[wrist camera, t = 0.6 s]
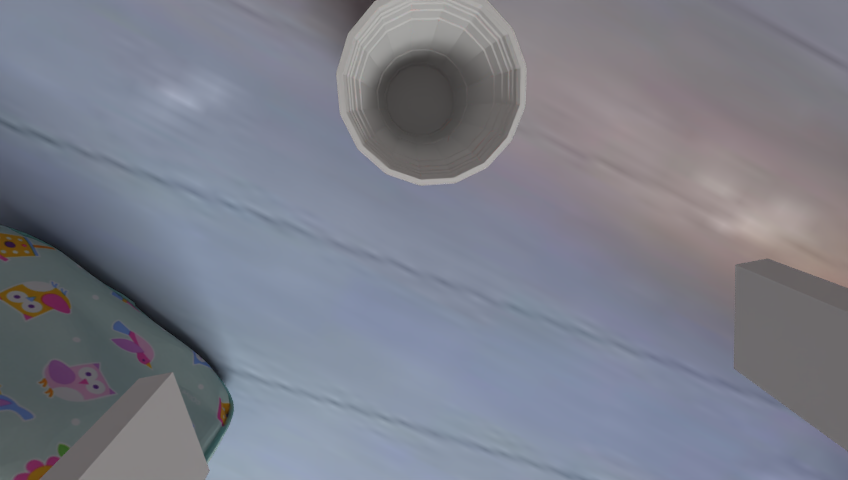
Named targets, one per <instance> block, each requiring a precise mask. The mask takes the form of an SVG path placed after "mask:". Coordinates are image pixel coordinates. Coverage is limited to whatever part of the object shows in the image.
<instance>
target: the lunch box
mask: <svg viewBox="0 0 848 480" xmlns="http://www.w3.org/2000/svg"><path fill="white" fill-rule="evenodd" d="M170 372H173V374H174V376H175V379H176V382H177V384H178V387H179V390H180V392H181V395H182V398H183V400H184V403H185V406H186V408H187V411H188V414H189V416H190V419H191V422H192V425H193V427H194V430H195V433H196V435H197V438H198V441H199V443H200V446H201V449H202V451H203V454H204V457H205V459H206V462H207V464H208V462H209V461H210V459H211V457H212V456H213V454H214V452H215V451H216V449H217V447H218V446H219V444H220V442H221V440H222V438H223V436H224V434H225V432H226V431H227V429H228V427H229V424H230V422H231V419H232V416H233V411H234V406H233V400H232V398H231V395H230V393H229V391H228V389H227V388H226V386H225V385H224V383H223V382H222V380H221V379H220V378H219V377H218V375H217V374H216V373H215V372H214V371H213V369H212V368H211V367H210V366H209V365H208V363H207V362H206V361H205V360H204V359H202V358H201V357H200V356H199V355H198V354H196V353H195V352H194V351H193V350H191V349H190V348H189V347H188V346H186V345H185V344H184V343H182V342H181V341H180V340H178V339H177V338H176V337H174V336H173V335H172V334H170V333H169V332H167V331H166V330H164V329H163V328H162V327H160V326H159V325H158V324H156V323H155V322H154V321H152V320H151V319H150V318H149V317H147V316H146V315H145V314H144V313H143V312H142V311H141V310H139V309H138V308H137V307H136V306H135V303H134V302H133V301H131V300H130V299H129V298H127V297H126V296H124V295H123V294H121V293H120V292H118V291H116V290H114V289H112V288H110V287H109V286H107V285H106V284H104V283H102V282H101V281H99V280H98V279H96V278H95V277H94V276H92V275H91V274H90V273H88V272H87V271H86V270H85V269H83V268H82V267H81V266H79V265H78V264H77V263H75V262H74V261H73V260H71V259H70V258H69V257H67V256H66V255H65V254H63V253H62V252H61V251H59V250H58V249H56V248H54V247H53V246H51V245H49V244H47V243H45V242H43V241H41V240H39V239H37V238H35V237H33V236H31V235H28V234H26V233H23V232H21V231H18V230H15V229H12V228H9V227H6V226H2V225H0V480H39V479H40V478H41V477H42V476H43V475H44V474H45V473H46V472H47V471H48V470H49V469H50V468H51V467H52V466H53V465H54V464H55V463H56V462H57V461H58V460H59V459H60V458H61V457H62V456H63V455H64V454H65V453H66V452H67V451H68V450H69V449H70V448H71V447H72V446H73V445H74V444H75V443H76V442H77V441H78V440H79V439H80V438H81V437H82V436H83V435H84V434H85V433H86V432H87V431H88V430H89V429H90V428H91V427H92V426H93V425H94V424H95V423H96V422H97V421H98V420H99V419H100V418H101V417H102V416H103V415H104V414H105V413H106V412H107V411H108V409H109V408H110V407H111V406H112V405H113V404H114V403H115V402H116V401H117V400H118V399H119V398H120V397H121V396H122V395H123V394H124V393H125V392H126V391H127V390H128V389H129V388H130V387H131V386H132V385H133V384H134V383H135V382H136V381H137V380H138V379H139V378H144V377H149V376H154V375H159V374H165V373H170Z"/></svg>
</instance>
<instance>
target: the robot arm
mask: <svg viewBox="0 0 848 480" xmlns="http://www.w3.org/2000/svg"><path fill="white" fill-rule="evenodd" d="M734 369H735V370H737V371H738V372H739V373H741V374H742V375H744V376H745V377H746V378H748V379H749V380H750V381H752V382H753V383H755V384H756V385H757V386H759V387H760V388H761V389H763V390H764V391H766V392H767V393H768V394H770V395H771V396H772V397H774V398H775V399H777V400H778V401H779V402H781V403H782V404H783V405H785V406H786V407H788V408H789V409H790V410H792V411H793V412H794V413H796V414H797V415H798V416H800V417H801V418H803V419H804V420H805V421H807V422H808V423H809V424H811V425H812V426H814V427H815V428H816V429H818V430H819V431H820V432H822V433H823V434H825V435H826V436H827V437H829V438H830V439H831V440H833V441H834V442H836V443H837V444H838V445H840V446H841V447H842V448H844V449H845V450H846V451H848V288H846V287H843V286H840V285H838V284H835V283H832V282H829V281H827V280H824V279H821V278H819V277H816V276H813V275H811V274H808V273H805V272H802V271H800V270H797V269H794V268H792V267H789V266H786V265H783V264H781V263H778V262H775V261H773V260H770V259H763V260H758V261H752V262H747V263H742V264H737V265H736V267H735V328H734ZM209 471H210V470H209V467H208V465H207V462H206V459H205V457H204V454H203V451H202V449H201V446H200V443H199V441H198V438H197V435H196V433H195V430H194V427H193V425H192V422H191V419H190V416H189V414H188V411H187V408H186V406H185V403H184V400H183V398H182V395H181V392H180V390H179V387H178V384H177V382H176V379H175V376H174V374H173V372H170V373H165V374H159V375H154V376H149V377H144V378H139V379H138V380H137V381H136V382H135V383H134V384H133V385H132V386H131V387H130V388H129V389H128V390H127V391H126V392H125V393H124V394H123V395H122V396H121V397H120V398H119V399H118V400H117V401H116V402H115V403H114V404H113V405H112V406H111V407H110V408H109V409H108V411H107V412H106V413H105V414H104V415H103V416H102V417H101V418H100V419H99V420H98V421H97V422H96V423H95V424H94V425H93V426H92V427H91V428H90V429H89V430H88V431H87V432H86V433H85V434H84V435H83V436H82V437H81V438H80V439H79V440H78V441H77V442H76V443H75V444H74V445H73V446H72V447H71V448H70V449H69V450H68V451H67V452H66V453H65V454H64V455H63V456H62V457H61V458H60V459H59V460H58V461H57V462H56V463H55V464H54V465H53V466H52V467H51V468H50V469H49V470H48V471H47V472H46V473H45V474H44V475H43V476H42V477H41V478H40V479H39V480H205V478H206V476H207V475H208V473H209Z"/></svg>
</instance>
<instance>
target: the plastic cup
mask: <svg viewBox="0 0 848 480" xmlns="http://www.w3.org/2000/svg"><path fill="white" fill-rule="evenodd" d="M526 68H527V67H526V64H525V61H524V58H523V55H522V52H521V50H520V47H519V44H518V41H517V38H516V36H515V33H514V30H513V28H512V27H511V26H510V25H509V24H508V23H507V22H506V21H505V19H504V18H503V17H502V16H501V15H500V14H499V13H498V12H497V10H496V9H495V8H494V7H493V6H492V5H491V4H490V3H489V2H488V0H376V1H374V2H373V4H372V5H371V6H370V7H369V9H368V10H367V11H366V12H365V13H364V15H363V16H362V17H361V18H360V19H359V21H358V22H357V23H356V24H355V26H354V27H353V28H352V29H351V30H350V32H349V33H348V35H347V39H346V42H345V45H344V49H343V52H342V55H341V59H340V62H339V66H338V69H337V72H336V76H337V87H338V98H339V109H340V115H341V117H342V119H343V121H344V123H345V125H346V127H347V129H348V131H349V133H350V135H351V137H352V139H353V141H354V143H355V145H356V147H357V149H358V150H359V151H360V152H362V153H363V154H364V155H365V156H366V157H367V158H368V159H370V160H371V161H372V162H373V163H374V164H375V165H376V166H378V167H379V168H380V169H381V170H382V171H383V172H384V173H385V174H388V175H391V176H394V177H396V178H399V179H402V180H405V181H408V182H411V183H414V184H417V185H420V186H421V185H436V184H452V183H457V182H459V181H461V180H463V179H465V178H467V177H469V176H471V175H473V174H475V173H477V172H479V171H481V170H483V169H485V168H487V167H488V166H489V165H490V164H491V163H492V162H493V161H494V160H495V158H496V157H497V156H498V155H499V154H500V153H501V152H502V151H503V150H504V149H505V148H506V146H507V145H508V144H509V143H510V142H511V141H512V139H513V136H514V134H515V131H516V129H517V126H518V124H519V121H520V119H521V116H522V114H523V111H524V109H525V106H526Z"/></svg>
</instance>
